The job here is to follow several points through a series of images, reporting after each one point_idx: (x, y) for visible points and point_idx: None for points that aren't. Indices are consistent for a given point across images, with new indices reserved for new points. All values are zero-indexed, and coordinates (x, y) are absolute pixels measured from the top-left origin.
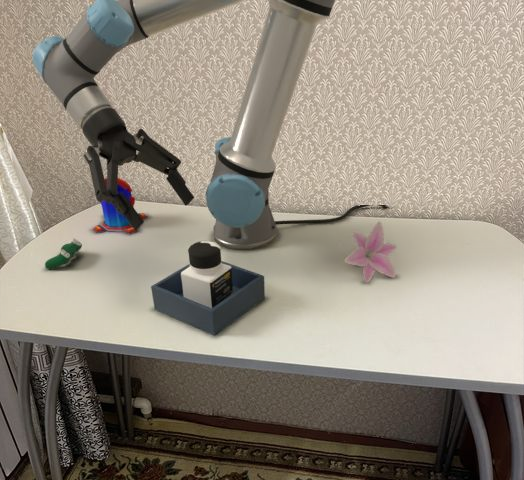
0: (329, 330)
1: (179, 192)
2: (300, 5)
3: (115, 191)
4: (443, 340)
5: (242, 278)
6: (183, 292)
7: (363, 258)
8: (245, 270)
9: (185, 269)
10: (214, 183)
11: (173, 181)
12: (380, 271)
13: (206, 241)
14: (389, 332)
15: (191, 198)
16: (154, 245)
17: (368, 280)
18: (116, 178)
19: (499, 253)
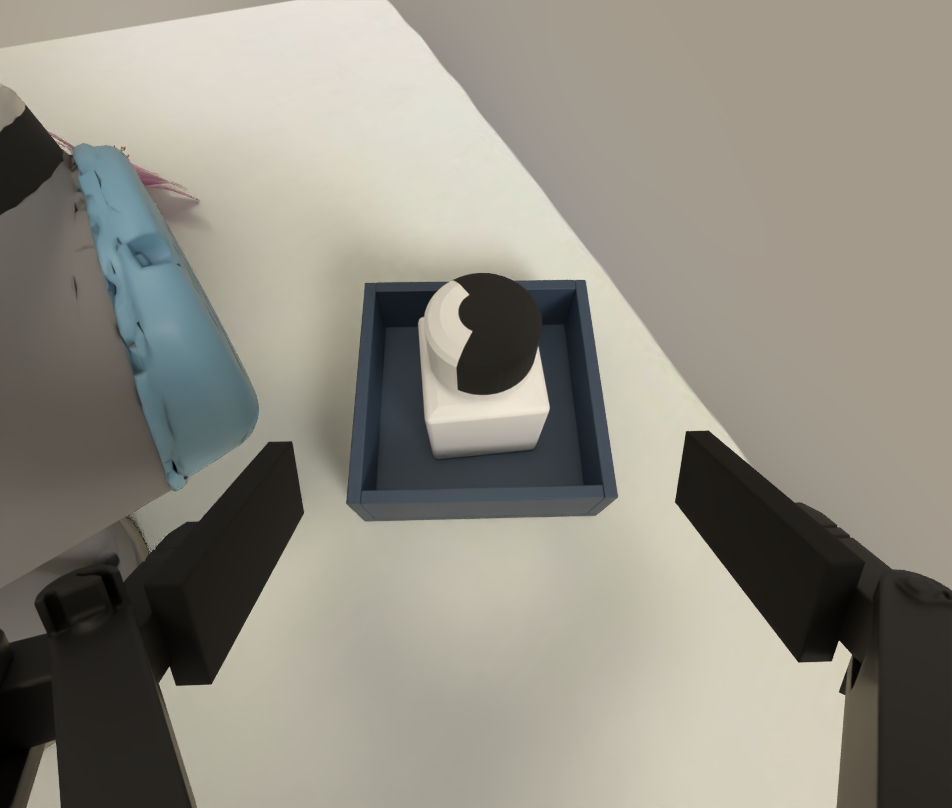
0: (409, 178)
1: (272, 539)
2: None
3: (906, 581)
4: (333, 59)
5: (377, 356)
6: (540, 433)
7: (142, 179)
8: (366, 335)
9: (525, 409)
10: (176, 296)
11: (231, 585)
12: (156, 175)
13: (448, 329)
14: (356, 113)
15: (291, 444)
16: None
17: (191, 196)
18: (898, 693)
19: None
